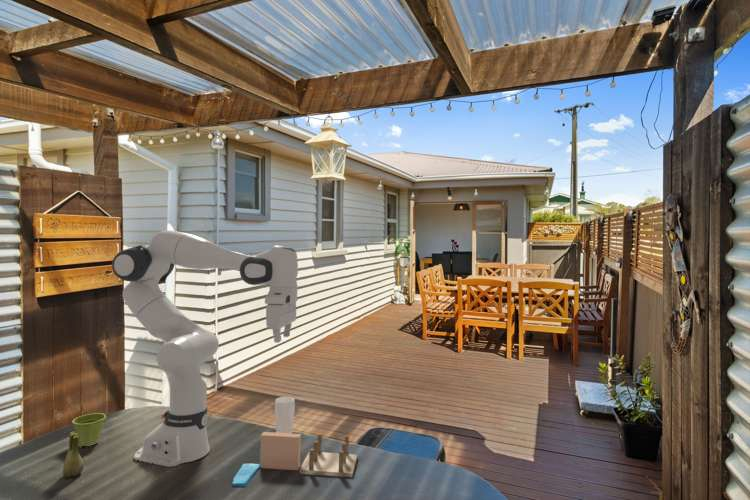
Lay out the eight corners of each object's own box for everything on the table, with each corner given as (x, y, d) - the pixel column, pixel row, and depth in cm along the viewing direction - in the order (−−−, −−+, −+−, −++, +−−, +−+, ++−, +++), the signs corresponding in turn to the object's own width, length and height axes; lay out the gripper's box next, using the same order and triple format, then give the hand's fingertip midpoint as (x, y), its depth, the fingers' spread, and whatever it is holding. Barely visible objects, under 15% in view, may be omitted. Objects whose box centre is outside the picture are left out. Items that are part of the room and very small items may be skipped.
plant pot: (110, 442, 142) (111, 417, 142) (79, 452, 134) (80, 425, 134) (97, 435, 147) (98, 411, 147) (66, 445, 139) (67, 419, 139)
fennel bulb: (66, 471, 123) (68, 430, 123) (86, 468, 124) (87, 428, 125) (59, 481, 117) (61, 438, 117) (80, 478, 119) (81, 436, 119)
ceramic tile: (259, 467, 127) (260, 435, 127) (262, 463, 130) (263, 431, 130) (297, 470, 126) (298, 437, 126) (300, 466, 129) (301, 434, 129)
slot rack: (299, 473, 124) (300, 449, 124) (309, 455, 136) (309, 433, 136) (352, 477, 123) (352, 452, 123) (357, 458, 135) (357, 435, 135)
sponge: (224, 483, 117) (244, 482, 116) (242, 463, 129) (260, 462, 128) (225, 488, 117) (245, 487, 116) (243, 467, 129) (261, 467, 128)
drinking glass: (289, 447, 141) (290, 403, 141) (270, 445, 142) (271, 401, 143) (296, 439, 148) (297, 397, 148) (279, 437, 149) (280, 395, 149)
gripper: (283, 293, 143) (282, 333, 143) (262, 298, 123) (261, 345, 123) (301, 293, 143) (300, 333, 142) (283, 299, 122) (282, 346, 122)
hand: (282, 339), depth 132 cm, fingers open, 8 cm apart
